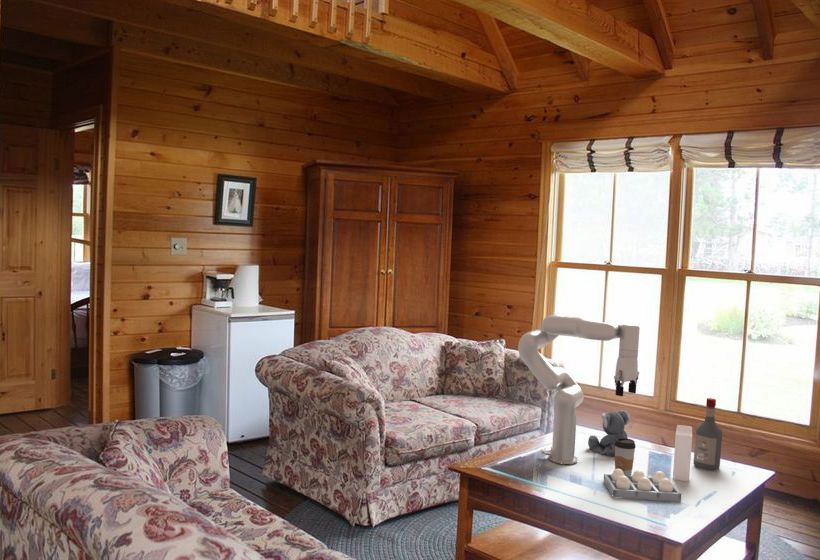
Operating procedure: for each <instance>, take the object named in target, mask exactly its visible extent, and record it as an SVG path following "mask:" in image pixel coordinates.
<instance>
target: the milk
mask: <svg viewBox="0 0 820 560" xmlns="http://www.w3.org/2000/svg"><path fill="white" fill-rule="evenodd" d="M674 437H675V438H674V439H675V441H674V452H673V453H674V455H673V469H672V476H673V480H677V481H682V482H690V475H691V474H690V472H691V458H692V446H693V445H692V444H693V427H692V426H690V425H682V424H681V425H680V424H677V425H676V429H675V436H674Z"/></svg>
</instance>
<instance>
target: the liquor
mask: <svg viewBox="0 0 820 560" xmlns="http://www.w3.org/2000/svg"><path fill="white" fill-rule="evenodd" d="M716 402H717V400H716V398H711V397H708V398H706V403H705V405H706V410H705V418H704V421H703V422H701V423H700V424H699V425H698V426H697V427H696V428H695V435H694V436H695V438H694V452H693V466H694V467H695V468H696V469H699V470H700V469H701V470H703V471H706V472H714V471H716V470H717V471H718V470H719V469H720V467H721V455H722V442H723V441H722V440H723V430H722V429H721V427H720V426H719V425H718V424H717V423H716V419H715V414H716V405H717V404H716Z"/></svg>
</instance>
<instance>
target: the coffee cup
mask: <svg viewBox="0 0 820 560" xmlns="http://www.w3.org/2000/svg"><path fill="white" fill-rule="evenodd" d="M614 445H615V456H614V470H615V469H621V470H622V471H623V473H624V475H628V476H632V472H633V467H634V466H633V465H634V461H635V460H634V459H635V458H634V456H635V452H636V442H635V440H633V439H632V438H617V439H616V441H615V444H614Z"/></svg>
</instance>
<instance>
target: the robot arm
mask: <svg viewBox="0 0 820 560" xmlns="http://www.w3.org/2000/svg"><path fill="white" fill-rule="evenodd" d="M559 336H562V337H563V336H565V337H574V338H579V339H585V340H590V341H591V340H594V341H601V342H602V341H607V342H608V341H612V340H615V339H619V343H618V356H617V359H616V360H617V361H616V365H615V372H614V373H615V374H614V377H613V379H614V383H615V384H614V385H615V396H617V397H623V396H624V390H625V389H624V385H625V383H626V382H628V393H632V394H636V393H637V384H638V380H639V376H640V372H639V370H638V366H639V365H638V364H639V363H638V362H639V361H638V357H639V342H640V341H639V340H640V325H639V324H637V323H632V322H621V321H618V320H608V321H606V322H605V321H604V322H599V321H598V322H597V321H589V320H585V319H583V318H582V317H579V316H567V315H563V314H561V313H554V314H550V315H547V316H545V318H543V320H542V322H541V325H540V326H539V327H538V328H537V329H535V330H531V331H528V332H526V333H524V334H523V335H522V336H521V337H520V339H519V342H518V346H517V348H518V349H517V350H518V354H519V357H520V358H521V360H522V361H523V363H524V364H525V366H527V368H528V369H529V370H530V371H531V373H532V375H533V376H535V378H536V380H537V381H538V382H539V383H540V384H541V387H543V388H544V389H545V390H547V391H554V390H556V393H555V394H554V396H553V400H552V402H553V403H552V404H553V429H552V430H553V431H552V444H551V445H552V446H551V447H550V448H548V449H545V448H543V449H542V448H541V450H540V453H541V454H542V455H544V456H547V459H548V458H549V459H550V460H552V461H554V462H557V463H556V464H558V463H562V464H561V465H565V464H570V465H574V463H575V464H577V463H578V462H577V461H579V459H578V457H576V456H575V451H576V436H577V435H576V433H577V413H576V410H577V409H576V408H577V407H578V406H580V405H581V404H582V403H583V402H584V398H585V395H584V391H583V390H582V388H581V387H580V386H579V384H578V383H577V382H576V381H575V380H574V378H573V377H572V376H571V375H570V373H569V372H568V371H567V370H566V369H565V368H563V367H562V366H558V365H554V366H552V365H551V363H550V362H549V361H548V360H547V358H546V357H545V356H544V355H542V354H541V353H540V352H539V350H540V349H544V348H545V347H546V346H548V345H549V344H550V343H552V342H553V341H554V340H555V339H556V338H557V337H559ZM549 459H548V460H549ZM550 460H549V461H550ZM552 461H551V462H552ZM554 462H553V463H554ZM576 462H577V463H576Z"/></svg>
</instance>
